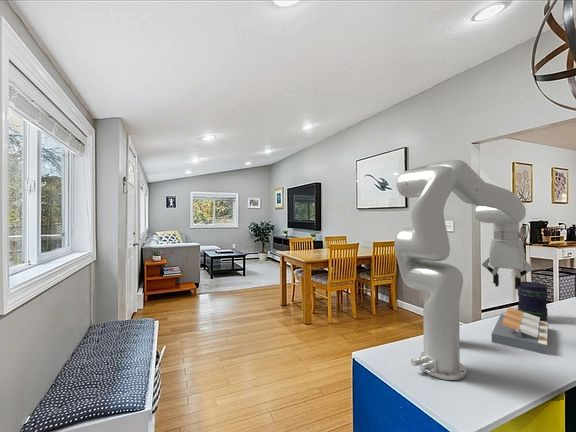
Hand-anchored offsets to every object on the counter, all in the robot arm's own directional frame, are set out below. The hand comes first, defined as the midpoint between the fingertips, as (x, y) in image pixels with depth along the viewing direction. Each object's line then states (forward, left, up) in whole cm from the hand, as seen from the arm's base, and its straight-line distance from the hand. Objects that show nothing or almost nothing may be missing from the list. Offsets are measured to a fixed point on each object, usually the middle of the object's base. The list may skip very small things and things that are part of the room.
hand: (506, 286), depth 107 cm
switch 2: (+9, +1, -14) cm, 17 cm away
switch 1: (+16, +5, -14) cm, 22 cm away
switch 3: (+2, -3, -14) cm, 15 cm away
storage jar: (+31, +11, -20) cm, 38 cm away
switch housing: (+9, +1, -19) cm, 21 cm away
